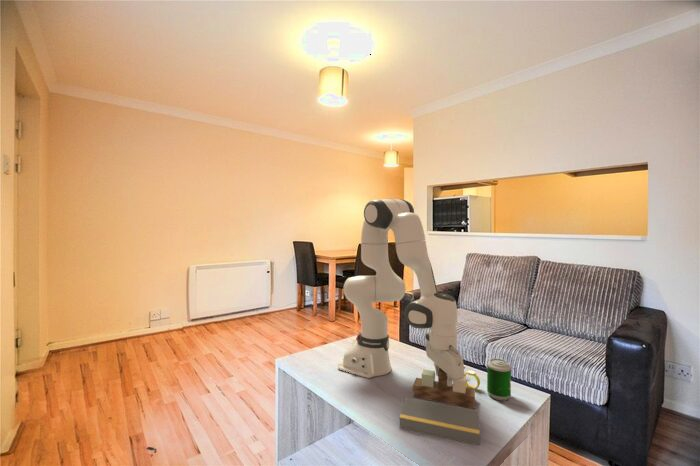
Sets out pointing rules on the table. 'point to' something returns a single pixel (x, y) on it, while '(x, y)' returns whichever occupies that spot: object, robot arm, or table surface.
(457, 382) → the block
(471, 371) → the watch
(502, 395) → the soda can
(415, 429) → the dock
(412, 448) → the table surface
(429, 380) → the block
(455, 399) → the wooden toy cargo boat
